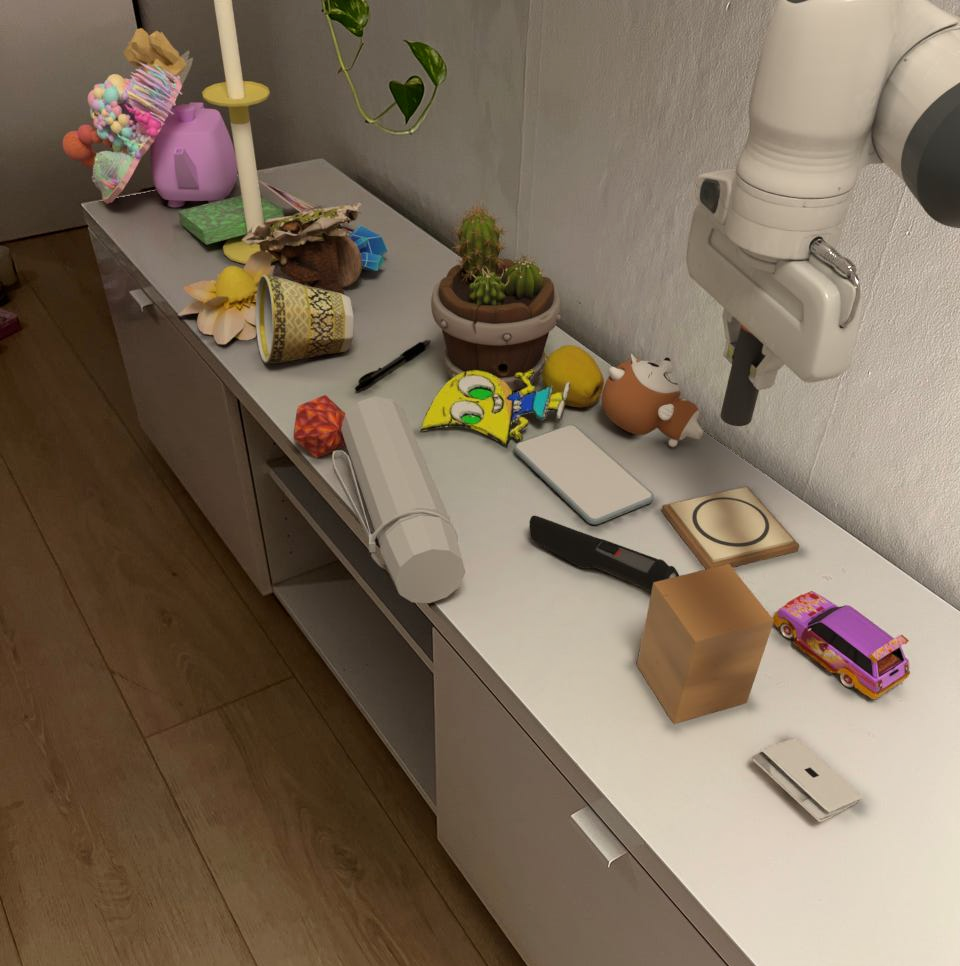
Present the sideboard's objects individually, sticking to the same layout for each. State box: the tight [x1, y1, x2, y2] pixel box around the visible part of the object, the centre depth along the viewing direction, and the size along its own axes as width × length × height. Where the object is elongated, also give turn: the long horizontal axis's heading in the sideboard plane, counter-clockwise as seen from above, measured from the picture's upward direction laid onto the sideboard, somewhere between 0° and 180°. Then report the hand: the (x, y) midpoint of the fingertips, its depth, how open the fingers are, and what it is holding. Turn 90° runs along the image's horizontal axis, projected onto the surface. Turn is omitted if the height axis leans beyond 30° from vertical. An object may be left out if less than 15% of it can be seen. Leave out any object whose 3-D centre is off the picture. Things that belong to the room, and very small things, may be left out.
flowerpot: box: [430, 197, 562, 397], centre depth 112 cm, size 14×15×20 cm
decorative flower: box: [177, 250, 287, 345], centre depth 127 cm, size 15×11×10 cm
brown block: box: [636, 564, 774, 725], centre depth 82 cm, size 7×7×10 cm
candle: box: [201, 0, 280, 265], centre depth 127 cm, size 10×10×38 cm
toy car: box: [772, 590, 911, 700], centre depth 87 cm, size 6×12×5 cm, turn 35°
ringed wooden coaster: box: [661, 485, 800, 570], centre depth 100 cm, size 10×10×1 cm
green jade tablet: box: [177, 194, 285, 245], centre depth 143 cm, size 11×12×2 cm
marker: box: [719, 324, 765, 427], centre depth 86 cm, size 3×3×11 cm
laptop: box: [751, 737, 863, 823], centre depth 78 cm, size 7×6×2 cm
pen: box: [354, 339, 431, 392], centre depth 120 cm, size 14×2×1 cm, turn 144°
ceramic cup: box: [256, 275, 355, 365], centre depth 120 cm, size 13×10×10 cm
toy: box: [420, 369, 571, 449], centre depth 110 cm, size 10×1×15 cm
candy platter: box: [61, 27, 194, 205], centre depth 143 cm, size 25×24×9 cm
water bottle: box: [331, 396, 466, 604], centre depth 97 cm, size 9×8×25 cm
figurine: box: [601, 353, 704, 448], centre depth 109 cm, size 9×9×12 cm
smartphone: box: [513, 424, 655, 526], centre depth 105 cm, size 8×1×15 cm
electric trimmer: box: [529, 515, 680, 593], centre depth 95 cm, size 4×16×3 cm, turn 58°
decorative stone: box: [293, 394, 346, 459], centre depth 106 cm, size 6×7×8 cm
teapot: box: [150, 101, 238, 208], centre depth 148 cm, size 20×12×13 cm, turn 3°
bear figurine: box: [241, 201, 363, 295], centre depth 128 cm, size 14×15×12 cm
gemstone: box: [335, 224, 389, 288], centre depth 135 cm, size 7×9×12 cm
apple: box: [541, 344, 605, 408], centre depth 114 cm, size 6×6×8 cm
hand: (747, 372), depth 86 cm, fingers closed on marker, 3 cm apart
